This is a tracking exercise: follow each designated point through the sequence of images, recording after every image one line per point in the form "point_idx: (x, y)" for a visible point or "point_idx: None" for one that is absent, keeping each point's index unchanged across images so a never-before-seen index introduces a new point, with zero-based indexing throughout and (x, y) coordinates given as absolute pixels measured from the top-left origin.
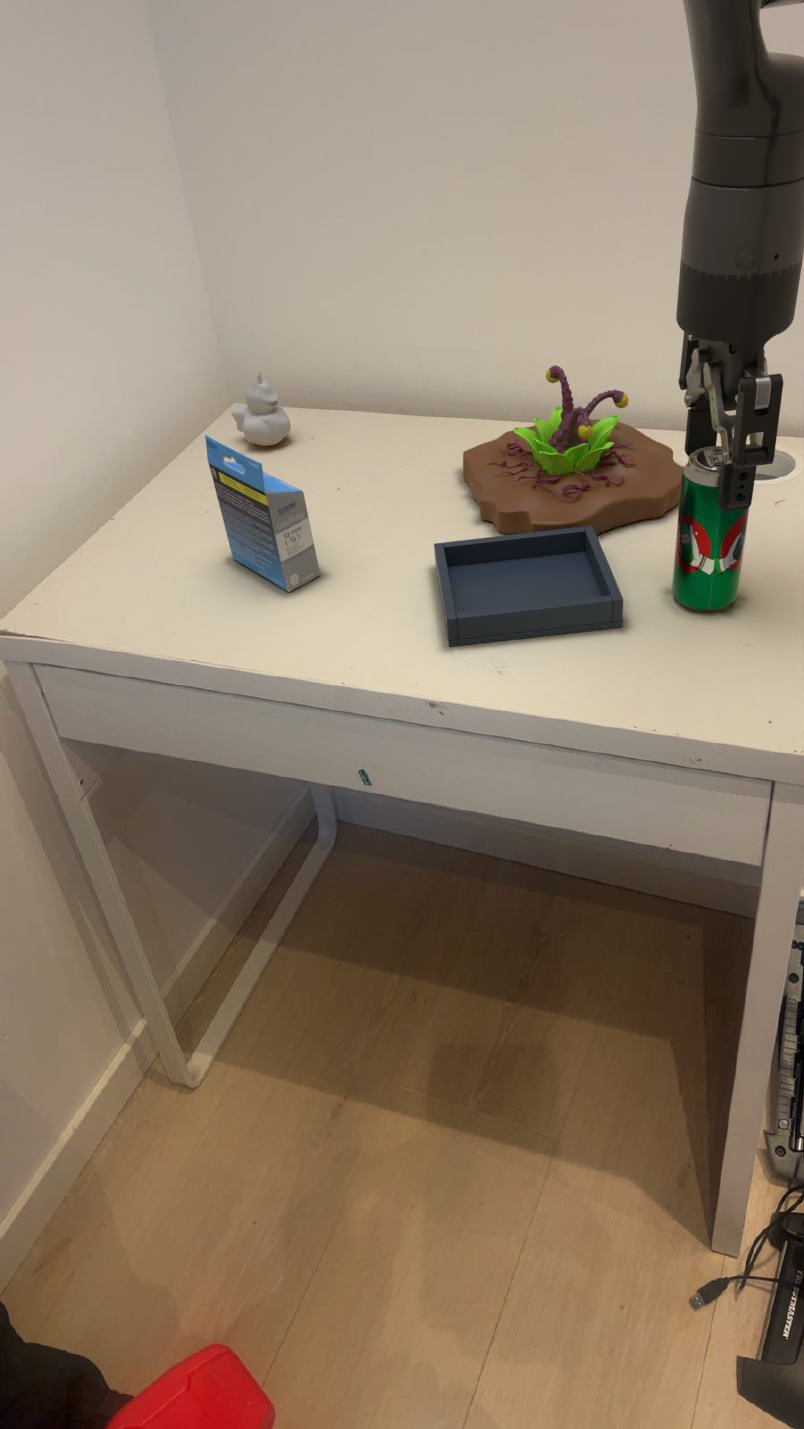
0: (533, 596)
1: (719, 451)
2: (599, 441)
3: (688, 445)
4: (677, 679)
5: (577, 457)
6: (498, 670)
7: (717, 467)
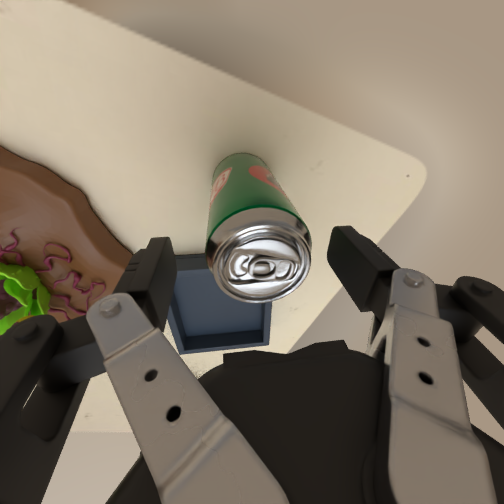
0: (228, 297)
1: (228, 260)
2: None
3: (174, 283)
4: (338, 224)
5: (24, 290)
6: (293, 309)
7: (290, 276)
